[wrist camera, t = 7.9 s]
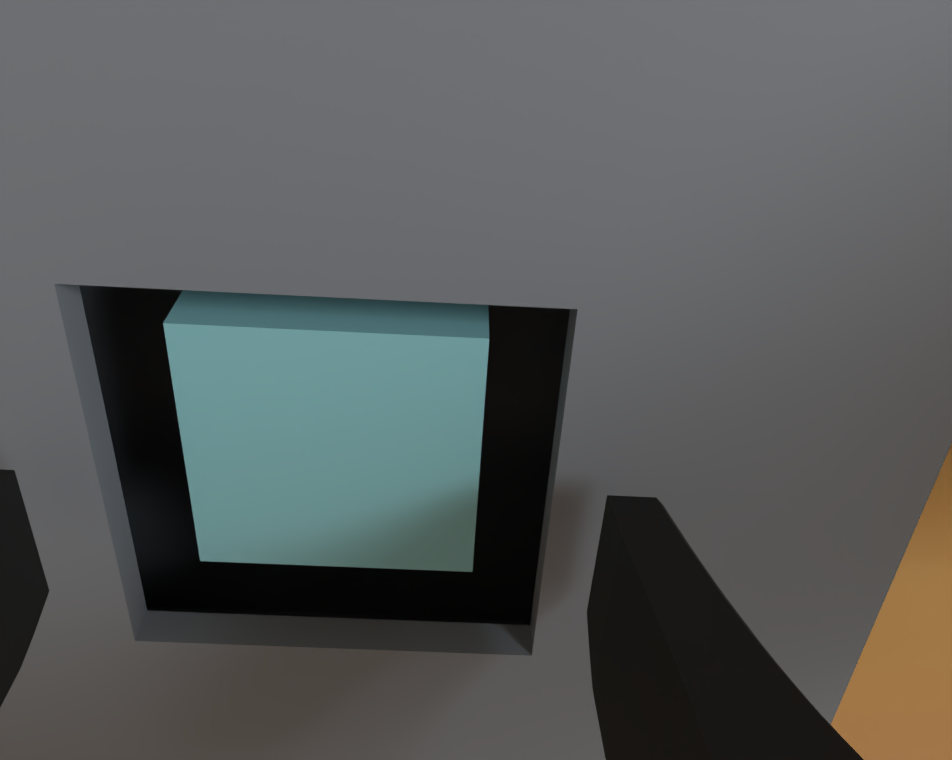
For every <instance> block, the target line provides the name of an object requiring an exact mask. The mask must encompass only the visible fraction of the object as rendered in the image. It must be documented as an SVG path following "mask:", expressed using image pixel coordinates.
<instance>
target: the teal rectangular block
mask: <svg viewBox="0 0 952 760" xmlns="http://www.w3.org/2000/svg"><path fill="white" fill-rule="evenodd" d="M163 326H164V333H165V339H166V346H167V352H168V358H169V365H170V371H171V378H172V384H173V390H174V397H175V403H176V410H177V416H178V422H179V429H180V435H181V442H182V448H183V454H184V461H185V467H186V474H187V480H188V486H189V493H190V499H191V506H192V512H193V518H194V525H195V531H196V538H197V544H198V550H199V557H200V561H210V562H235V563H260V564H285V565H310V566H336V567H361V568H386V569H411V570H436V571H461V572H472V571H473V557H474V543H475V529H476V516H477V502H478V488H479V474H480V460H481V446H482V433H483V419H484V405H485V391H486V377H487V364H488V350H489V305H478V304H458V303H437V302H417V301H396V300H376V299H355V298H335V297H314V296H293V295H273V294H252V293H232V292H211V291H191V290H183V291H182V293H181V294H180V296H179V297H178V299H177V301H176V302H175V304H174V306H173V307H172V309H171V311H170V312H169V314H168V316H167V317H166V319H165V321H164V322H163Z"/></svg>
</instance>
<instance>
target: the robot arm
mask: <svg viewBox="0 0 952 760" xmlns="http://www.w3.org/2000/svg"><path fill="white" fill-rule="evenodd" d="M48 593H49V588H48V584H47V581H46V577H45V574H44V570H43V567H42V563H41V560H40V557H39V553H38V550H37V546H36V543H35V539H34V536H33V532H32V529H31V525H30V522H29V519H28V515H27V512H26V508H25V505H24V501H23V498H22V494H21V491H20V488H19V484H18V481H17V477H16V474H15V470H3V469H0V707H1V705H2V703H3V701H4V699H5V698H6V696H7V694H8V692H9V690H10V688H11V686H12V684H13V682H14V680H15V678H16V676H17V674H18V672H19V670H20V668H21V666H22V664H23V661H24V659H25V656H26V653H27V651H28V648H29V646H30V643H31V641H32V638H33V636H34V633H35V630H36V627H37V625H38V622H39V619H40V616H41V613H42V610H43V608H44V605H45V602H46V599H47V596H48ZM587 623H588V638H589V653H590V665H591V677H592V689H593V694H594V700H595V706H596V711H597V716H598V722H599V727H600V732H601V738H602V743H603V748H604V754H605V759H606V760H863V759H862V757H861V756H860V755H859V754H858V753H857V752H856V751H855V750H854V749H853V748H852V747H851V746H850V745H849V744H848V743H847V742H846V741H845V740H844V739H843V738H842V737H841V736H840V735H839V734H838V732H837V731H836V730H835V729H834V728H833V727H832V726H831V725H830V724H829V723H828V722H827V721H826V719H825V718H824V717H823V716H822V715H821V714H820V713H819V712H818V710H817V709H816V708H815V707H814V706H813V705H812V704H811V703H810V701H809V700H808V699H807V698H806V697H805V696H804V695H803V693H802V692H801V691H800V690H799V689H798V687H797V686H796V685H795V684H794V683H793V682H792V680H791V679H790V678H789V677H788V676H787V674H786V673H785V672H784V671H783V670H782V669H781V667H780V666H779V665H778V664H777V663H776V661H775V660H774V659H773V658H772V656H771V655H770V654H769V653H768V651H767V650H766V649H765V648H764V646H763V645H762V644H761V643H760V641H759V640H758V639H757V637H756V636H755V635H754V634H753V632H752V631H751V630H750V628H749V627H748V626H747V624H746V623H745V622H744V620H743V619H742V618H741V616H740V615H739V614H738V612H737V611H736V610H735V609H734V607H733V606H732V605H731V603H730V602H729V601H728V599H727V598H726V597H725V595H724V594H723V592H722V591H721V590H720V588H719V587H718V586H717V584H716V583H715V581H714V580H713V579H712V577H711V576H710V574H709V573H708V571H707V570H706V568H705V567H704V566H703V564H702V563H701V561H700V560H699V558H698V557H697V555H696V554H695V553H694V551H693V550H692V548H691V547H690V545H689V544H688V542H687V541H686V539H685V538H684V536H683V535H682V533H681V532H680V530H679V529H678V527H677V525H676V524H675V522H674V521H673V519H672V518H671V516H670V515H669V513H668V512H667V510H666V508H665V507H664V505H663V504H662V503H661V502H660V501H659V500H658V499H657V498H656V497H636V496H613V495H607V499H606V504H605V510H604V516H603V522H602V527H601V533H600V539H599V544H598V550H597V556H596V561H595V567H594V573H593V579H592V584H591V590H590V596H589V601H588V607H587Z"/></svg>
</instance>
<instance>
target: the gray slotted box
mask: <svg viewBox="0 0 952 760" xmlns="http://www.w3.org/2000/svg"><path fill="white" fill-rule="evenodd" d="M183 290H191V291H211V292H232V293H252V294H273V295H293V296H314V297H335V298H355V299H376V300H396V301H417V302H437V303H458V304H478V305H489V350H488V364H487V377H486V391H485V405H484V419H483V433H482V446H481V460H480V474H479V488H478V502H477V516H476V529H475V543H474V557H473V571H472V572H461V571H436V570H411V569H386V568H361V567H336V566H310V565H285V564H260V563H235V562H210V561H200V557H199V550H198V544H197V538H196V531H195V525H194V518H193V512H192V506H191V499H190V493H189V486H188V480H187V474H186V467H185V461H184V454H183V448H182V442H181V435H180V429H179V422H178V416H177V410H176V403H175V397H174V390H173V384H172V378H171V371H170V365H169V358H168V352H167V346H166V339H165V333H164V326H163V322H164V321H165V319H166V317H167V316H168V314H169V312H170V311H171V309H172V307H173V306H174V304H175V302H176V301H177V299H178V297H179V296H180V294H181V293H182V291H183ZM951 444H952V0H0V469H3V470H15V474H16V477H17V481H18V484H19V488H20V491H21V494H22V498H23V501H24V505H25V508H26V512H27V515H28V519H29V522H30V525H31V529H32V532H33V536H34V539H35V543H36V546H37V550H38V553H39V557H40V560H41V563H42V567H43V570H44V574H45V577H46V581H47V584H48V588H49V593H48V596H47V599H46V602H45V605H44V608H43V610H42V613H41V616H40V619H39V622H38V625H37V627H36V630H35V633H34V636H33V638H32V641H31V643H30V646H29V648H28V651H27V653H26V656H25V659H24V661H23V664H22V666H21V668H20V670H19V672H18V674H17V676H16V678H15V680H14V682H13V684H12V686H11V688H10V690H9V692H8V694H7V696H6V698H5V699H4V701H3V703H2V705H1V707H0V760H606V759H605V754H604V748H603V743H602V738H601V732H600V727H599V722H598V716H597V711H596V706H595V700H594V694H593V689H592V677H591V665H590V653H589V638H588V623H587V607H588V601H589V596H590V590H591V584H592V579H593V573H594V567H595V561H596V556H597V550H598V544H599V539H600V533H601V527H602V522H603V516H604V510H605V504H606V499H607V495H613V496H636V497H656V498H657V499H658V500H659V501H660V502H661V503H662V504H663V505H664V507H665V508H666V510H667V512H668V513H669V515H670V516H671V518H672V519H673V521H674V522H675V524H676V525H677V527H678V529H679V530H680V532H681V533H682V535H683V536H684V538H685V539H686V541H687V542H688V544H689V545H690V547H691V548H692V550H693V551H694V553H695V554H696V555H697V557H698V558H699V560H700V561H701V563H702V564H703V566H704V567H705V568H706V570H707V571H708V573H709V574H710V576H711V577H712V579H713V580H714V581H715V583H716V584H717V586H718V587H719V588H720V590H721V591H722V592H723V594H724V595H725V597H726V598H727V599H728V601H729V602H730V603H731V605H732V606H733V607H734V609H735V610H736V611H737V612H738V614H739V615H740V616H741V618H742V619H743V620H744V622H745V623H746V624H747V626H748V627H749V628H750V630H751V631H752V632H753V634H754V635H755V636H756V637H757V639H758V640H759V641H760V643H761V644H762V645H763V646H764V648H765V649H766V650H767V651H768V653H769V654H770V655H771V656H772V658H773V659H774V660H775V661H776V663H777V664H778V665H779V666H780V667H781V669H782V670H783V671H784V672H785V673H786V674H787V676H788V677H789V678H790V679H791V680H792V682H793V683H794V684H795V685H796V686H797V687H798V689H799V690H800V691H801V692H802V693H803V695H804V696H805V697H806V698H807V699H808V700H809V701H810V703H811V704H812V705H813V706H814V707H815V708H816V709H817V710H818V712H819V713H820V714H821V715H822V716H823V717H824V718H825V719H826V721H827V722H828V723H829V724H830V725H831V722H832V720H833V718H834V715H835V713H836V711H837V708H838V706H839V704H840V701H841V699H842V697H843V694H844V692H845V690H846V687H847V685H848V683H849V681H850V678H851V676H852V674H853V671H854V669H855V667H856V664H857V662H858V660H859V657H860V655H861V653H862V650H863V648H864V646H865V643H866V641H867V639H868V636H869V634H870V632H871V629H872V627H873V625H874V623H875V620H876V618H877V616H878V613H879V611H880V609H881V606H882V604H883V602H884V599H885V597H886V595H887V592H888V590H889V588H890V585H891V583H892V581H893V578H894V576H895V574H896V571H897V569H898V567H899V565H900V562H901V560H902V558H903V555H904V553H905V551H906V548H907V546H908V544H909V541H910V539H911V537H912V534H913V532H914V530H915V527H916V525H917V523H918V520H919V518H920V516H921V513H922V511H923V509H924V506H925V504H926V502H927V500H928V497H929V495H930V493H931V490H932V488H933V486H934V483H935V481H936V479H937V476H938V474H939V472H940V469H941V467H942V465H943V462H944V460H945V458H946V455H947V453H948V451H949V448H950V446H951Z"/></svg>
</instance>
